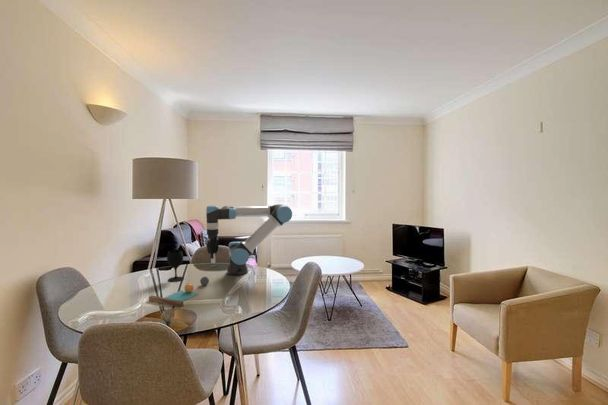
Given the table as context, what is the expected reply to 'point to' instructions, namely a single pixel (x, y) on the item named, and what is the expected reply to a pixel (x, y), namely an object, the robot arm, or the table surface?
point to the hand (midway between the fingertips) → (213, 262)
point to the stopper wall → (166, 301)
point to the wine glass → (175, 263)
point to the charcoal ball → (204, 281)
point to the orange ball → (188, 288)
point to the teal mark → (181, 295)
